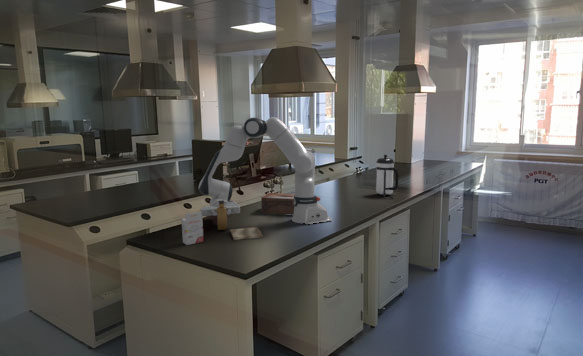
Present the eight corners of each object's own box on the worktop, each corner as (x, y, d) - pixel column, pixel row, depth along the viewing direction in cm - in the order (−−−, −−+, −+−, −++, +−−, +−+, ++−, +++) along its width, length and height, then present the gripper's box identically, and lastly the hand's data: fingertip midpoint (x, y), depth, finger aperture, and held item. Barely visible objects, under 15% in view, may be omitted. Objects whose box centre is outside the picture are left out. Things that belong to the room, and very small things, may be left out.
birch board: (257, 229, 209) (257, 227, 209) (262, 237, 196) (262, 234, 196) (230, 231, 206) (230, 229, 205) (233, 239, 192) (233, 237, 192)
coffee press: (372, 196, 291) (373, 155, 286) (374, 192, 306) (376, 153, 301) (397, 197, 286) (399, 156, 281) (398, 193, 301) (399, 153, 296)
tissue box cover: (261, 213, 244) (261, 197, 243) (268, 208, 258) (268, 192, 257) (302, 215, 238) (302, 199, 236) (308, 210, 252) (308, 194, 250)
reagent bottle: (226, 226, 210) (225, 199, 208) (227, 229, 206) (226, 201, 203) (217, 227, 209) (216, 200, 206) (218, 230, 204) (216, 202, 202)
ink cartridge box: (199, 239, 194) (198, 209, 191) (203, 241, 190) (202, 211, 187) (182, 242, 189) (180, 212, 186) (186, 245, 185) (184, 214, 182)
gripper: (199, 203, 215) (200, 209, 202) (237, 200, 220) (241, 206, 207) (200, 215, 216) (201, 221, 203) (238, 211, 221) (241, 217, 208)
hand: (222, 213), depth 205 cm, fingers closed on reagent bottle, 5 cm apart
